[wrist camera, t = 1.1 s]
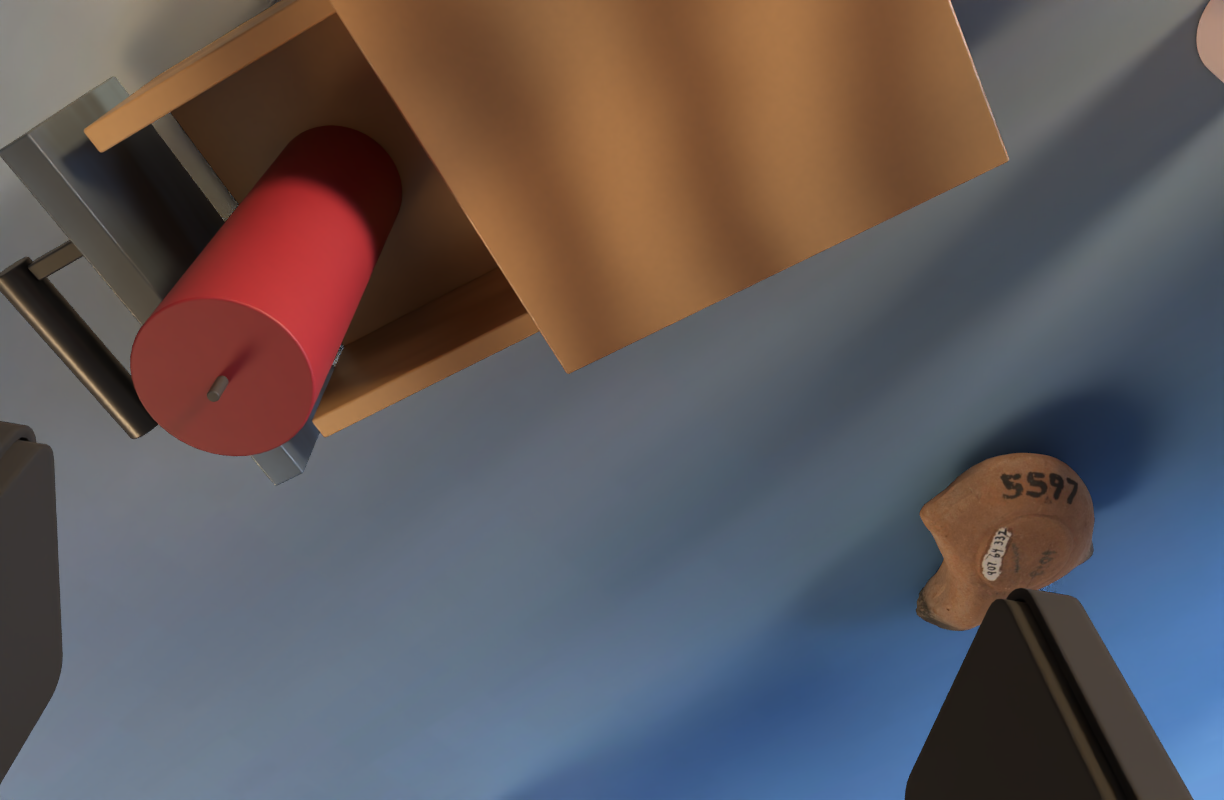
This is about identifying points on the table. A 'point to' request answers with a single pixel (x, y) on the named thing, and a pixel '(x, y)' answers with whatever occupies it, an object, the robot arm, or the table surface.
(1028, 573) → the oil lamp
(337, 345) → the candle
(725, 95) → the cabinet
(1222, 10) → the smoothie
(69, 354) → the drawer
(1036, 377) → the table surface
